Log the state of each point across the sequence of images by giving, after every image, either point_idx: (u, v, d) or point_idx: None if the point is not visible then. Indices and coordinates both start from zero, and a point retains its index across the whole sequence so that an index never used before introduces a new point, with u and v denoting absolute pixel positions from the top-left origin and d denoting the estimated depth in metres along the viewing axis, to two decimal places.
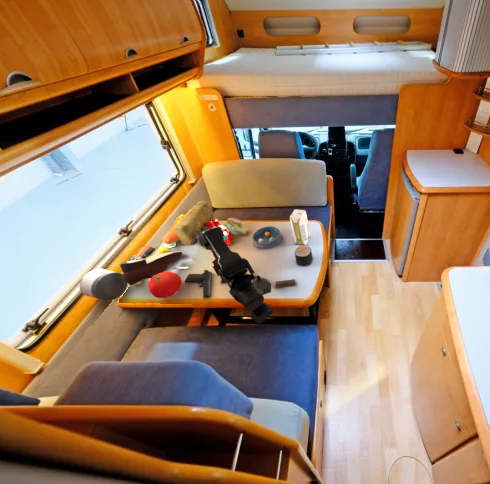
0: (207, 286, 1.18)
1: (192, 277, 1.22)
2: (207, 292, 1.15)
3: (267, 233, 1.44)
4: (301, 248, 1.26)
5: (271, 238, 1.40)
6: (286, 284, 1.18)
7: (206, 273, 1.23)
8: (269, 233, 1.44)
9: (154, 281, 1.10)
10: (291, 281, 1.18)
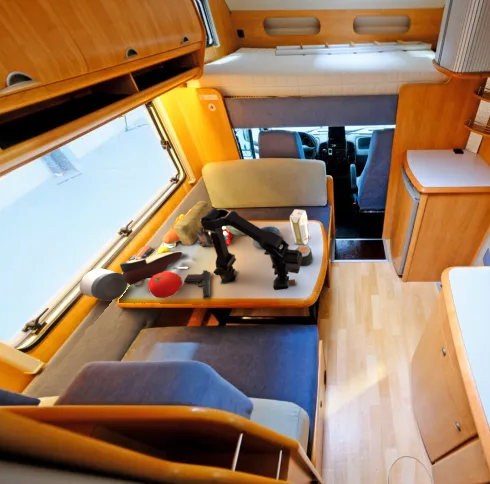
0: (207, 286, 1.18)
1: (191, 277, 1.21)
2: (207, 292, 1.15)
3: None
4: (301, 248, 1.26)
5: None
6: None
7: (205, 273, 1.23)
8: None
9: (154, 281, 1.10)
10: (291, 281, 1.18)
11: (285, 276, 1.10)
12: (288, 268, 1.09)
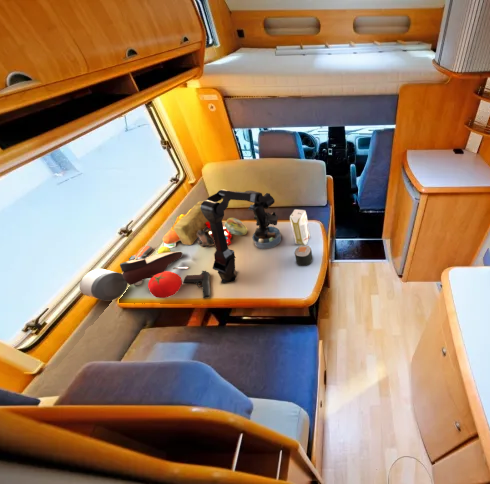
0: (206, 286, 1.18)
1: (190, 278, 1.21)
2: (207, 292, 1.15)
3: None
4: (301, 248, 1.26)
5: (271, 238, 1.40)
6: None
7: (204, 274, 1.23)
8: None
9: (154, 281, 1.10)
10: (271, 234, 1.42)
11: (265, 227, 1.34)
12: (267, 220, 1.33)
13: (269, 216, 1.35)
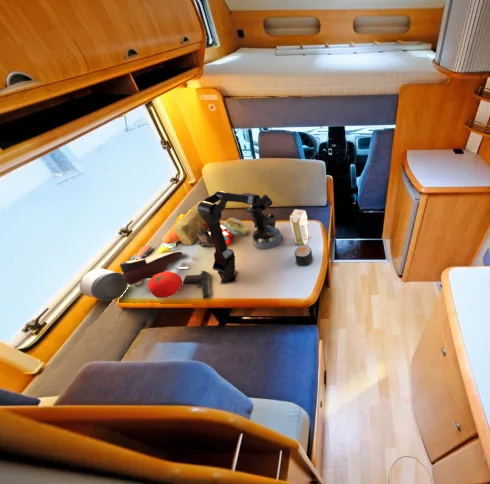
0: (206, 286, 1.18)
1: (190, 278, 1.21)
2: (207, 292, 1.15)
3: None
4: (301, 248, 1.26)
5: (271, 238, 1.40)
6: None
7: (204, 274, 1.23)
8: None
9: (154, 281, 1.10)
10: (270, 234, 1.41)
11: (263, 229, 1.34)
12: (265, 222, 1.33)
13: (267, 218, 1.34)
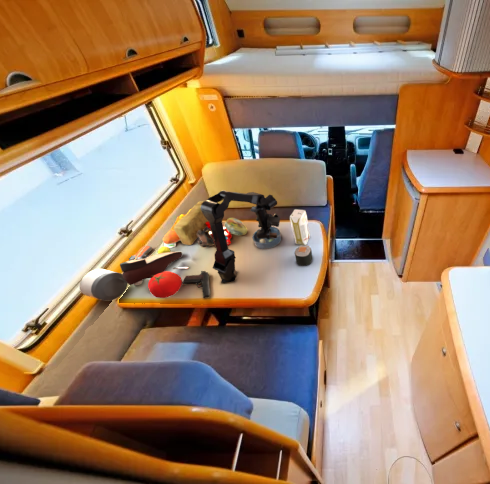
0: (206, 286, 1.18)
1: (189, 278, 1.21)
2: (207, 292, 1.15)
3: None
4: (301, 248, 1.26)
5: None
6: None
7: (204, 274, 1.23)
8: None
9: (154, 281, 1.10)
10: (274, 234, 1.41)
11: (267, 228, 1.34)
12: (269, 221, 1.33)
13: (271, 218, 1.35)
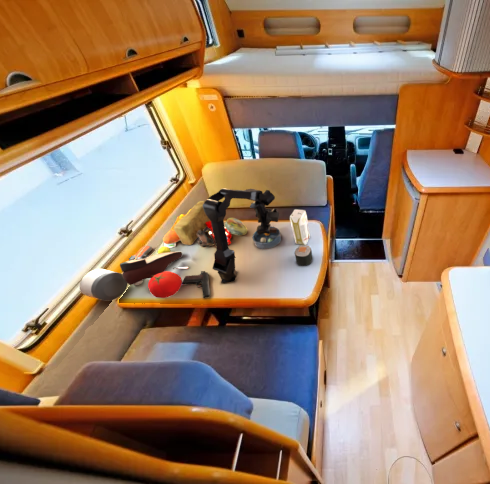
0: (206, 286, 1.18)
1: (189, 279, 1.21)
2: (207, 292, 1.15)
3: None
4: (301, 248, 1.26)
5: (269, 241, 1.39)
6: None
7: (203, 274, 1.23)
8: None
9: (154, 281, 1.10)
10: (273, 229, 1.43)
11: (267, 224, 1.36)
12: (269, 217, 1.35)
13: (270, 213, 1.37)
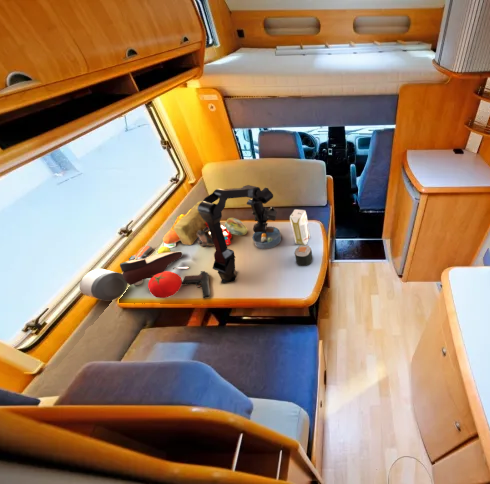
0: (206, 286, 1.17)
1: (189, 279, 1.21)
2: (207, 292, 1.15)
3: None
4: (301, 248, 1.26)
5: (268, 240, 1.40)
6: None
7: (203, 274, 1.23)
8: None
9: (154, 281, 1.10)
10: (270, 228, 1.39)
11: (264, 222, 1.32)
12: (266, 215, 1.31)
13: (267, 211, 1.33)
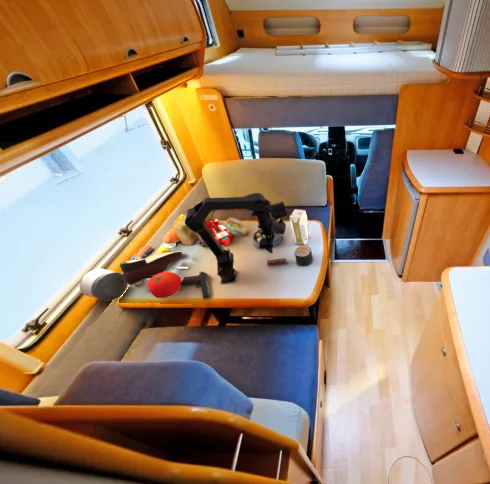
0: (206, 286, 1.17)
1: (188, 279, 1.20)
2: (207, 292, 1.15)
3: None
4: (301, 248, 1.26)
5: None
6: (277, 262, 1.29)
7: (202, 274, 1.23)
8: (257, 237, 1.43)
9: (154, 281, 1.10)
10: (282, 260, 1.28)
11: None
12: (274, 228, 1.13)
13: (275, 224, 1.14)
